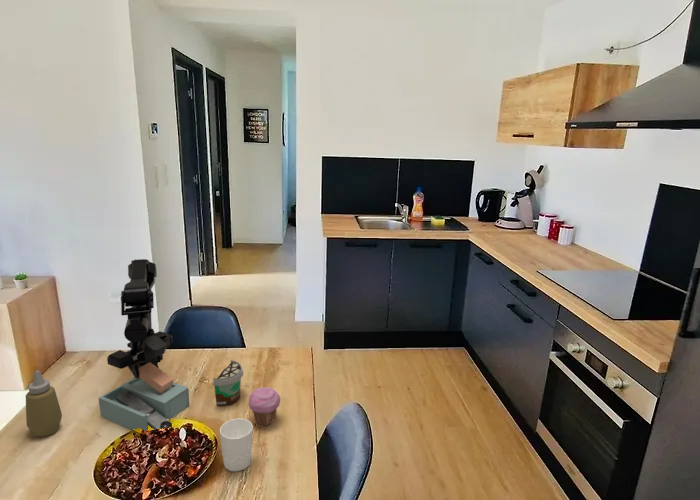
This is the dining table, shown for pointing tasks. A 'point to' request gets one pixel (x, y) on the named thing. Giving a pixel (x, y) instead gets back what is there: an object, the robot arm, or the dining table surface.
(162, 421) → the lever
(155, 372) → the salmon orange rectangular block
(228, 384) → the food container
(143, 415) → the jig
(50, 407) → the squeeze bottle
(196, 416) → the dining table surface
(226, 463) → the white cup
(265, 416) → the cupcake
